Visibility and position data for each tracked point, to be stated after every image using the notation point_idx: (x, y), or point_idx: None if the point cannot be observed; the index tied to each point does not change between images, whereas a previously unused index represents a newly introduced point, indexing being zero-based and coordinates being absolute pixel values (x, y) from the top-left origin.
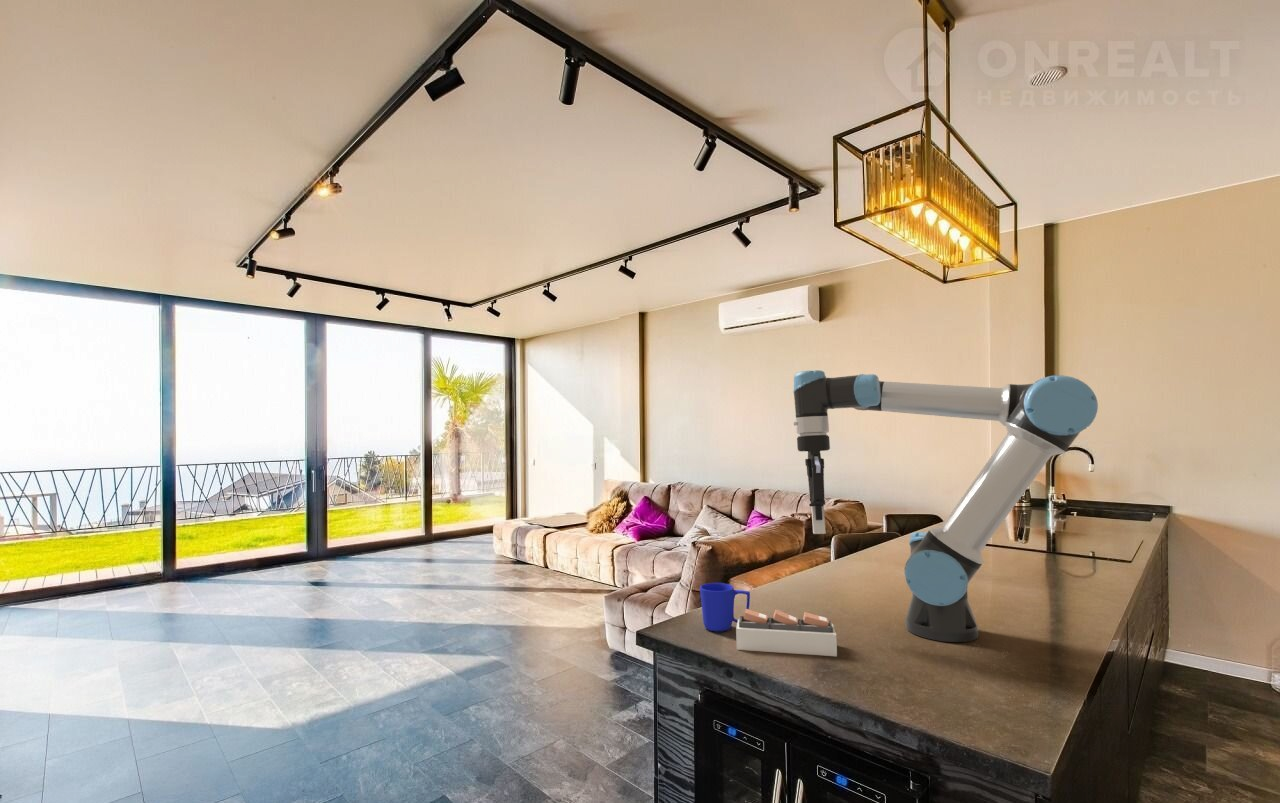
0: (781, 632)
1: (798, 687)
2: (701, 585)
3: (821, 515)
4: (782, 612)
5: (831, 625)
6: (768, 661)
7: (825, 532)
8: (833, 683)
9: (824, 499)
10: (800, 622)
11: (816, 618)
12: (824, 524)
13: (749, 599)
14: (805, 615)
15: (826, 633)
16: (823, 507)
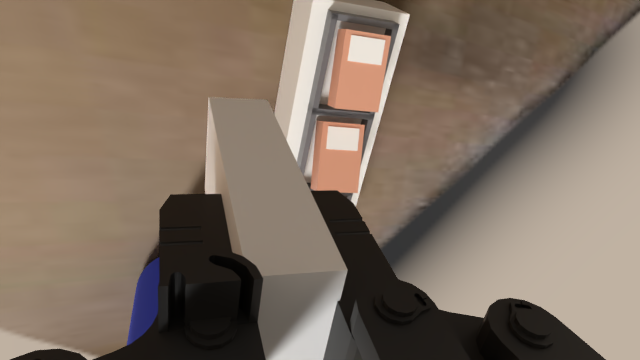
0: (367, 159)
1: (516, 122)
2: None
3: (360, 226)
4: (324, 170)
5: (378, 22)
6: (394, 167)
7: (267, 104)
8: (517, 52)
9: (596, 353)
10: (342, 112)
11: (376, 74)
12: (285, 142)
13: None
14: (370, 109)
15: (397, 42)
16: (342, 259)
